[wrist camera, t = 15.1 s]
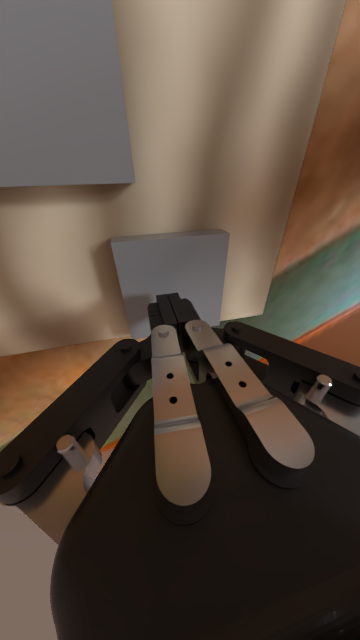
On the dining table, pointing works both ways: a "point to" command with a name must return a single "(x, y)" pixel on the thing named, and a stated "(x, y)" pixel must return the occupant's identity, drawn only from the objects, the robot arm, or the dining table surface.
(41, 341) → the white flat sheet
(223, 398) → the robot arm
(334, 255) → the dining table surface
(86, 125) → the slate tile
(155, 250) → the slate tile
